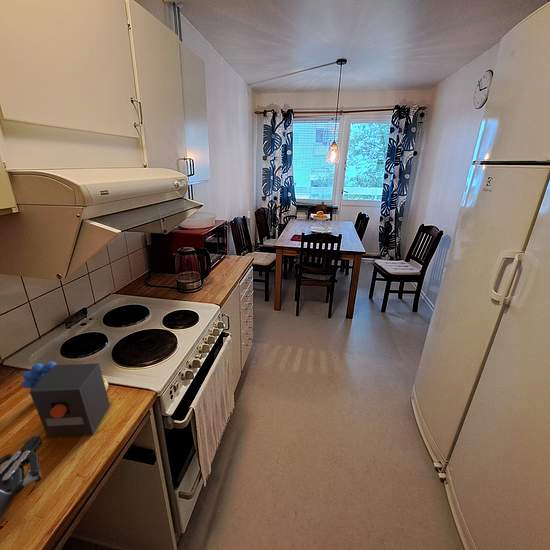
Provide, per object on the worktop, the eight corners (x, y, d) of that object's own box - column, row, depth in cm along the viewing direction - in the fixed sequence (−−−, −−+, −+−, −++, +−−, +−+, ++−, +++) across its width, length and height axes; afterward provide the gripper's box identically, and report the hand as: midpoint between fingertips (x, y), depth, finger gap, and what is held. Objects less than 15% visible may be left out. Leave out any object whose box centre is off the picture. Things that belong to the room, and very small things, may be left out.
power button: (51, 418, 73) (48, 409, 72) (55, 413, 75) (52, 404, 74) (64, 417, 74) (61, 408, 72) (68, 412, 75) (65, 403, 74)
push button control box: (46, 437, 77) (28, 392, 72) (69, 407, 87) (55, 364, 81) (92, 435, 78) (78, 390, 72) (110, 405, 88) (99, 363, 82)
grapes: (30, 410, 86) (17, 378, 81) (28, 397, 90) (16, 366, 86) (75, 391, 93) (65, 361, 89) (71, 380, 98) (62, 351, 93)
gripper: (2, 510, 49) (63, 425, 66) (-81, 517, 48) (1, 428, 64) (16, 536, 52) (71, 448, 68) (-62, 542, 51) (12, 451, 67)
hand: (37, 438), depth 66 cm, fingers closed
